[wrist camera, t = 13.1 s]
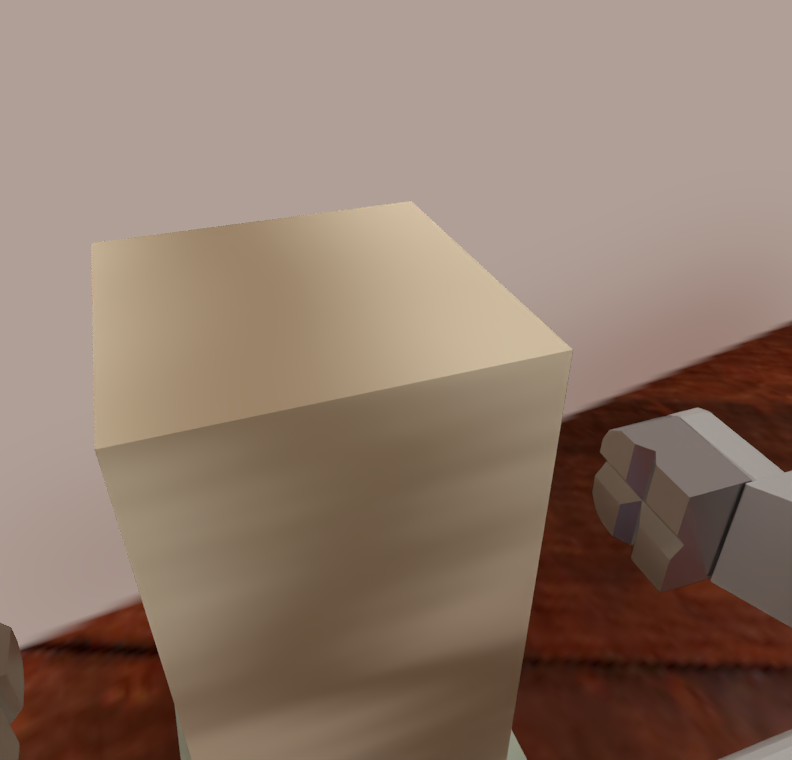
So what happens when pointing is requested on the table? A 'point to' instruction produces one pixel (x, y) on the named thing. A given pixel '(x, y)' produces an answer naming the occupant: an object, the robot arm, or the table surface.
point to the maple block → (328, 479)
